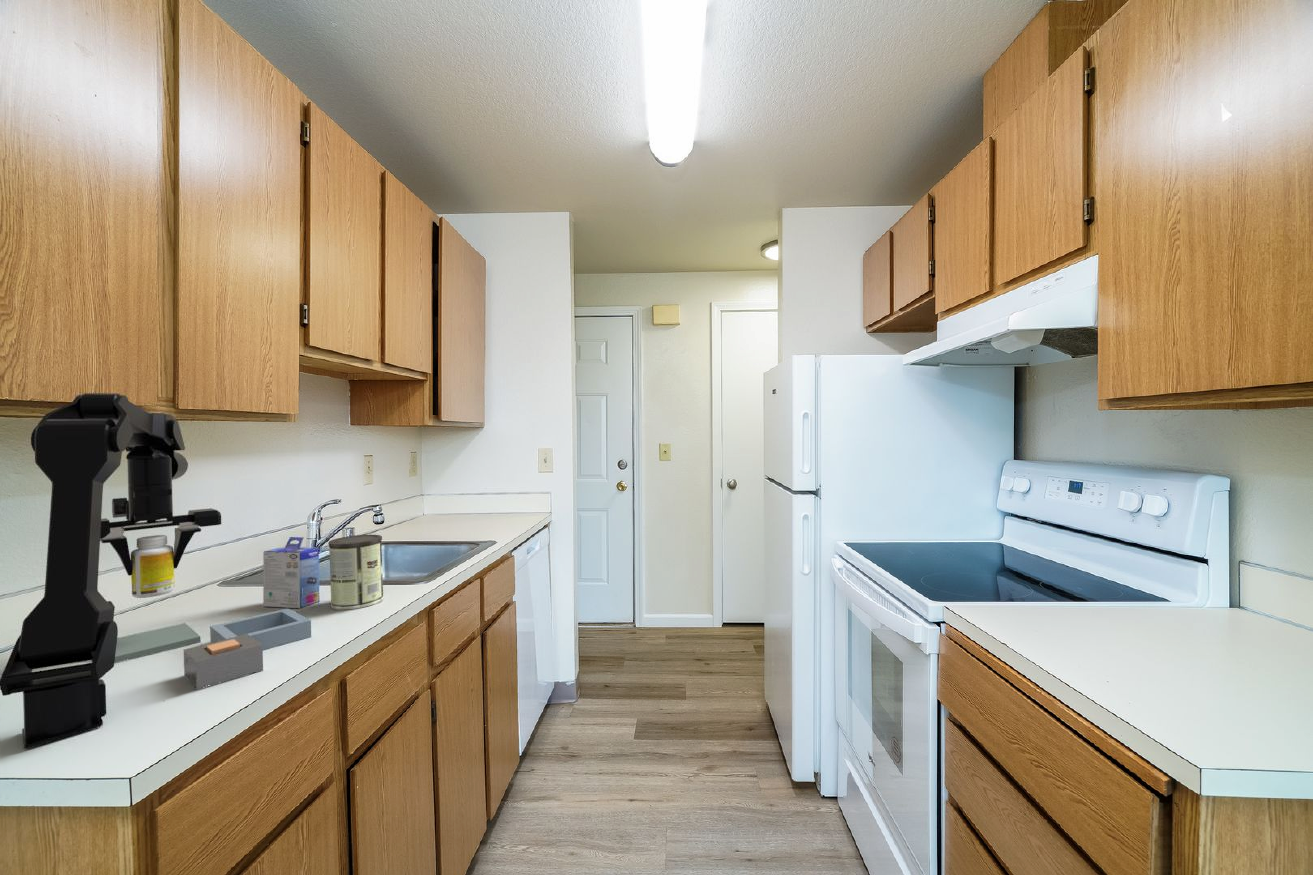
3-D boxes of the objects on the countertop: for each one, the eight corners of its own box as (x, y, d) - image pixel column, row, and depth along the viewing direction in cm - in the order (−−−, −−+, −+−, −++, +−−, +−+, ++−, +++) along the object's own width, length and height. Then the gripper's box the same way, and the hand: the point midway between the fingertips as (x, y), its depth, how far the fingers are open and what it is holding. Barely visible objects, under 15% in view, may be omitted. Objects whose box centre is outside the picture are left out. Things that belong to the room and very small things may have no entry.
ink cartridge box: (321, 601, 120) (320, 536, 120) (300, 609, 114) (299, 541, 114) (284, 599, 122) (283, 535, 122) (262, 607, 116) (260, 540, 116)
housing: (229, 659, 89) (228, 640, 88) (210, 642, 96) (210, 625, 96) (311, 636, 98) (310, 620, 98) (288, 623, 105) (287, 608, 105)
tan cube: (212, 670, 81) (212, 650, 81) (207, 665, 83) (206, 645, 83) (240, 663, 83) (239, 643, 83) (234, 657, 86) (233, 638, 86)
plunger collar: (196, 690, 78) (196, 662, 78) (184, 675, 83) (183, 649, 83) (263, 670, 84) (262, 644, 84) (247, 657, 89) (247, 633, 89)
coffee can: (345, 596, 123) (343, 535, 123) (391, 594, 124) (390, 533, 124) (319, 611, 113) (318, 544, 113) (370, 609, 113) (368, 542, 113)
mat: (105, 665, 87) (105, 659, 87) (96, 648, 95) (96, 642, 95) (200, 641, 97) (200, 636, 96) (185, 628, 104) (185, 622, 104)
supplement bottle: (183, 589, 98) (181, 534, 98) (151, 599, 93) (149, 540, 93) (155, 589, 99) (154, 534, 99) (122, 598, 93) (121, 540, 93)
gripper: (206, 478, 108) (208, 555, 108) (69, 486, 94) (72, 576, 94) (220, 480, 101) (223, 563, 101) (74, 490, 86) (77, 586, 87)
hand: (152, 571), depth 96 cm, fingers closed on supplement bottle, 6 cm apart
